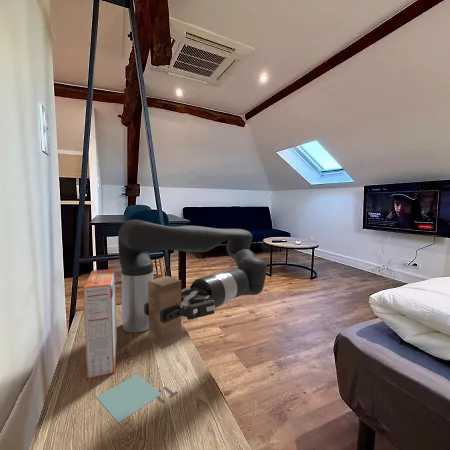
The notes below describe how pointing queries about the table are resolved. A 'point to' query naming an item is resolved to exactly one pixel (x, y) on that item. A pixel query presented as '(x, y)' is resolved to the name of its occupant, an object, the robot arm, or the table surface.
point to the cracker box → (100, 323)
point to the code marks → (168, 392)
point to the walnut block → (160, 300)
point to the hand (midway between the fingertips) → (153, 313)
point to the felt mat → (128, 397)
